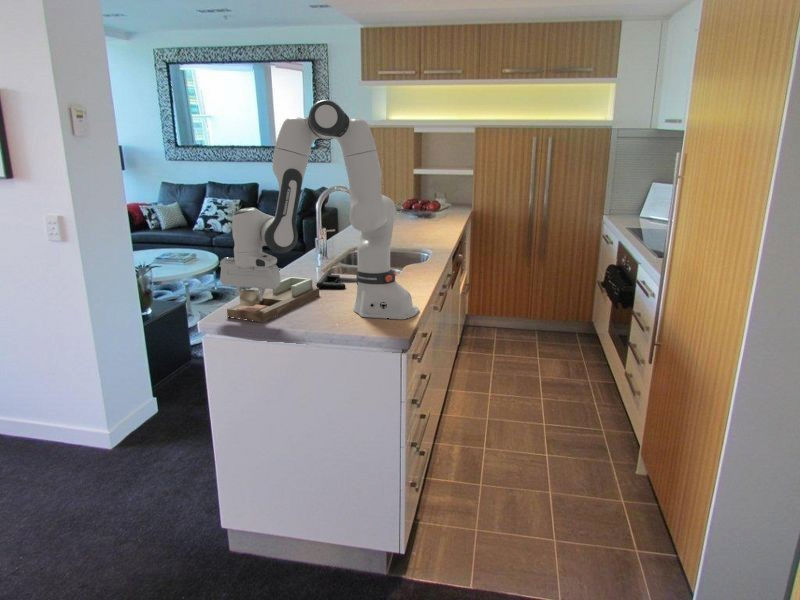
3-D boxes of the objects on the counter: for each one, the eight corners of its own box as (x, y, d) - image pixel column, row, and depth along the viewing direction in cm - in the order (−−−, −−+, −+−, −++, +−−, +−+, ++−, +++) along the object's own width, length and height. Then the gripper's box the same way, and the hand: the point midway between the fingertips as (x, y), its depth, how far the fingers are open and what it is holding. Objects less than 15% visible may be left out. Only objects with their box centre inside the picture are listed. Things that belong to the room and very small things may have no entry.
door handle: (360, 273, 246) (322, 270, 247) (353, 285, 227) (313, 281, 227) (359, 281, 247) (322, 278, 247) (353, 293, 228) (312, 290, 228)
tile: (267, 306, 194) (266, 305, 194) (254, 312, 188) (254, 311, 188) (249, 304, 196) (249, 303, 196) (236, 309, 190) (236, 308, 190)
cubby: (312, 288, 218) (312, 278, 217) (295, 295, 207) (294, 286, 206) (290, 285, 221) (290, 276, 220) (272, 293, 211) (272, 283, 210)
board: (319, 295, 219) (319, 287, 218) (263, 322, 187) (262, 313, 186) (287, 291, 224) (287, 284, 223) (227, 317, 192) (226, 309, 191)
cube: (259, 302, 192) (258, 289, 191) (252, 306, 188) (251, 293, 187) (247, 301, 193) (246, 288, 192) (240, 305, 189) (239, 292, 188)
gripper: (214, 258, 187) (218, 300, 191) (272, 262, 182) (275, 304, 186) (225, 255, 193) (228, 295, 197) (281, 258, 188) (283, 299, 192)
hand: (251, 299), depth 191 cm, fingers closed on cube, 4 cm apart
